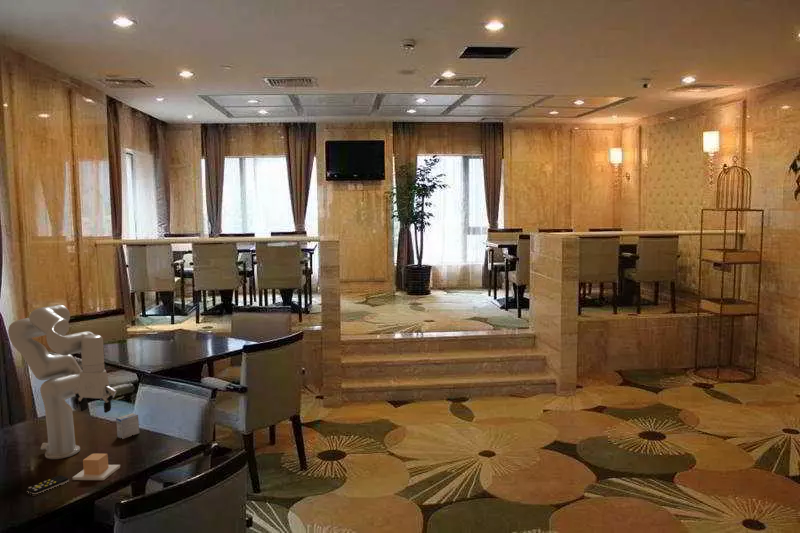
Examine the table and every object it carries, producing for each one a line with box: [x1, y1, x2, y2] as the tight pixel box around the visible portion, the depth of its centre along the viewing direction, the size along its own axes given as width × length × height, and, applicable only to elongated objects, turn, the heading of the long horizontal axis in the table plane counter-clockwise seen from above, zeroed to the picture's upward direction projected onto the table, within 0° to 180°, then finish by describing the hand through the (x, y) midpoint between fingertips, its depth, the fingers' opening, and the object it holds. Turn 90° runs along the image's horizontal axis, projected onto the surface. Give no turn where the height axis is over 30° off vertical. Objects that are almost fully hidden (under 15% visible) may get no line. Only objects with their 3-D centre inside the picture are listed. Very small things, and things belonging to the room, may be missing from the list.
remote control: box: [26, 475, 70, 495], centre depth 221 cm, size 6×13×2 cm, turn 148°
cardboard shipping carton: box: [82, 453, 110, 475], centre depth 230 cm, size 6×6×6 cm
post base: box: [72, 464, 121, 481], centre depth 230 cm, size 12×11×5 cm
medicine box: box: [115, 412, 140, 440], centre depth 269 cm, size 8×4×9 cm, turn 144°
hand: (95, 410), depth 236 cm, fingers open, 9 cm apart
